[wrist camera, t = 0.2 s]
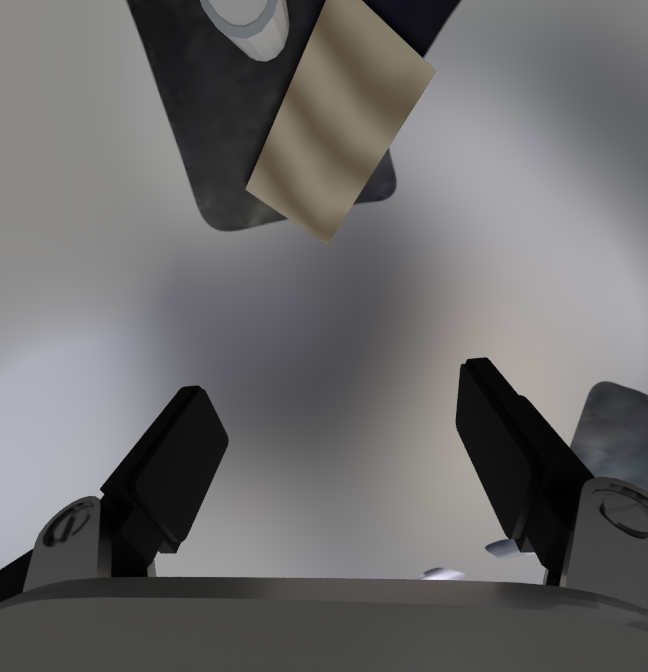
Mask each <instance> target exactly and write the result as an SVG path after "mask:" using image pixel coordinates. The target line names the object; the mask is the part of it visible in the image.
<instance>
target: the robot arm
mask: <svg viewBox="0 0 648 672" xmlns="http://www.w3.org/2000/svg"><path fill="white" fill-rule="evenodd" d="M456 428H457V431H458V432H459V435H460V438H461V439H462V442H463V444H464V446H465V448H466V450H467V453H468V455H469V457H470V459H471V461H472V464H473V466H474V467H475V470H476V472H477V474H478V477H479V479H480V481H481V483H482V485H483V487H484V490H485V492H486V494H487V496H488V498H489V500H490V503H491V505H492V507H493V509H494V511H495V513H496V515H497V518H498V520H499V522H500V524H501V527H502V529H503V531H504V533H505V535H506V536H507V537H508V538H509V539H514V540H515V542H516V544H517V547H518V549H519V551H520V552H535V553H536V555H537V557H538V559H539V561H540V562H541V565H542V566H544V567H545V568H546V571H545V575H544V580H543V584H542V585H537V584H525V583H510V582H484V581H456V580H405V579H343V578H340V579H339V578H251V577H249V578H248V577H156V571H155V562H154V558H155V556H156V554H157V552H158V551H159V552H160V553H177V550H178V548H179V546H180V544H181V542H183V541H184V540H185V539H186V537H187V535H188V533H189V531H190V529H191V527H192V524H193V522H194V520H195V518H196V515H197V513H198V511H199V509H200V506H201V504H202V502H203V500H204V497H205V495H206V493H207V491H208V488H209V486H210V484H211V482H212V480H213V477H214V475H215V473H216V471H217V468H218V466H219V464H220V462H221V459H222V457H223V455H224V453H225V451H226V448H227V446H228V436H227V433H226V431H225V429H224V427H223V425H222V423H221V421H220V419H219V417H218V415H217V413H216V411H215V409H214V407H213V405H212V403H211V401H210V399H209V397H208V395H207V393H206V391H205V390H204V389H202V388H201V387H200V386H186V387H182V388H181V389H180V390H179V391H178V392H177V394H176V395H175V396H174V397H173V399H172V400H171V401H170V402H169V403H168V405H167V406H166V407H165V408H164V410H163V411H162V413H161V414H160V415H159V416H158V418H156V420H155V421H154V422H153V423H152V425H151V426H150V427H149V428H148V430H147V431H146V432H145V433H144V435H143V436H142V437H141V439H140V440H139V441H138V442H137V443H136V445H135V446H134V447H133V448H132V450H131V451H130V452H129V453H128V454H127V456H126V457H125V458H124V459H123V461H122V462H121V463H120V465H119V466H118V467H117V468H116V469H115V471H114V472H113V473H112V474H111V476H110V477H109V478H108V479H107V481H106V482H105V483H104V484H103V486H102V487H101V488H100V490H101V491H102V492H103V493H104V494H105V495H104V496H103V497H102V498H101V500H100V499H98V498H97V497H96V496H88V497H84V498H81V499H79V500H76V501H74V502H72V503H71V504H69V505H68V506H66V507H65V508H63V509H62V510H61V511H59V512H58V513H57V514H56V515H55V516H54V517H53V518H52V519H51V520H50V521H49V522H48V523H47V524H46V525H45V526H44V528H43V529H42V531H41V532H40V533H39V535H38V538H37V540H36V542H35V546H34V548H33V549H32V550H30V551H29V552H27V553H26V554H24V555H23V556H21V557H19V558H18V559H16V560H15V561H13V562H12V563H10V564H9V565H7V566H5V567H4V568H2V569H1V570H0V672H648V492H647V491H646V490H644V489H642V488H640V487H638V486H636V485H633V484H631V483H629V482H625V481H622V480H619V479H616V478H608V477H597V478H595V477H594V476H593V475H592V473H591V472H590V471H589V470H588V469H587V468H586V466H585V465H584V464H583V463H582V462H581V461H580V459H579V458H578V457H577V456H576V455H575V454H574V452H573V451H572V450H571V449H570V448H569V447H568V445H567V444H566V443H565V442H564V441H563V440H562V438H561V437H560V436H559V435H558V434H557V433H556V431H555V430H554V429H553V428H552V427H551V426H550V425H549V423H548V422H547V421H546V420H545V419H544V418H543V416H542V415H541V414H540V413H539V412H538V410H537V409H536V408H535V407H534V406H533V405H532V403H530V401H529V400H528V399H527V398H526V397H524V396H522V395H518V394H517V392H516V391H515V390H514V389H513V388H512V386H511V385H510V384H509V383H508V382H507V381H506V379H505V378H504V377H503V376H502V374H501V373H500V372H499V371H498V370H497V368H496V367H495V366H494V365H493V364H492V362H491V361H490V360H489V359H488V358H486V357H485V358H474V359H467V361H466V364H461V367H460V378H459V388H458V399H457V411H456Z"/></svg>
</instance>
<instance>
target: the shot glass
mask: <svg viewBox="0 0 648 672" xmlns="http://www.w3.org/2000/svg"><path fill="white" fill-rule="evenodd" d="M200 2H201V4H202V7H203V9H204V10H205V12H206V13H207V15H208V16H209V18H210V19H211V20H212V22H213V23H214V25H215V26H216V27H217V28H218V29H219V30H220V31H221V32H223V33H224V34H225V35H226V36H227V37H228V38H229V39H230V40H231V41H233V42H234V43H235V44H236V45H237V46H238V47H239V48H240V49H242V50H243V51H244V52H245V53H246V54H247V55H249V56H250V57H252V58H253V59H255V60H258V61H269V60H271V59H273V58H275V57H277V55H278V54H279V53H280V52H281V50H282V49H283V48H284V45H285V42H286V39H287V36H288V24H289V17H288V11H287V5H286V0H200Z"/></svg>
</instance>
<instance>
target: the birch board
mask: <svg viewBox="0 0 648 672" xmlns="http://www.w3.org/2000/svg"><path fill="white" fill-rule="evenodd" d="M435 72H436V71H435V70H434V69H433V68H432V67H431V66H430V65H429V64H428V63H427V62H426V61H425V60H424V59H423V58H422V57H421V56H420V55H419V54H418V53H417V52H416V51H414V50H413V49H412V48H411V47H410V46H409V45H408V44H407V43H406V42H405V41H404V40H403V39H402V38H401V37H400V36H399V35H398V34H397V33H396V32H395V31H393V30H392V29H391V28H390V27H389V26H388V25H387V24H386V23H385V22H384V21H383V20H382V19H381V18H380V17H379V16H378V15H377V14H376V13H375V12H373V11H372V10H371V9H370V8H369V7H368V6H367V5H366V4H365V3H364V2H363V1H362V0H326V2H325V4H324V6H323V9H322V11H321V13H320V16H319V18H318V20H317V23H316V25H315V27H314V30H313V32H312V34H311V37H310V39H309V42H308V44H307V46H306V49H305V51H304V53H303V56H302V58H301V60H300V63H299V65H298V67H297V70H296V72H295V74H294V77H293V79H292V81H291V84H290V86H289V89H288V91H287V93H286V96H285V98H284V100H283V103H282V105H281V107H280V110H279V112H278V114H277V117H276V119H275V121H274V124H273V126H272V128H271V131H270V133H269V135H268V138H267V140H266V143H265V145H264V147H263V150H262V152H261V154H260V157H259V159H258V161H257V164H256V166H255V168H254V171H253V173H252V175H251V178H250V180H249V182H248V185H247V187H246V190H247V191H248V192H250V193H251V194H253V195H254V196H256V197H257V198H259V199H260V200H262V201H263V202H265V203H266V204H267V205H269V206H270V207H272V208H273V209H275V210H276V211H278V212H279V213H281V214H282V215H284V216H285V217H287V218H288V219H289V220H291V221H292V222H294V223H295V224H297V225H298V226H300V227H301V228H303V229H304V230H306V231H307V232H309V233H310V234H312V235H313V236H314V237H316V238H317V239H319V240H320V241H322V242H323V243H325V244H326V245H328V243H329V241H330V240H331V238H332V237H333V235H334V233H335V232H336V230H337V229H338V227H339V225H340V224H341V222H342V220H343V219H344V217H345V216H346V214H347V213H348V211H349V210H350V208H351V206H352V205H353V203H354V202H355V200H356V198H357V197H358V195H359V194H360V192H361V190H362V189H363V187H364V186H365V184H366V182H367V181H368V179H369V178H370V176H371V175H372V173H373V171H374V170H375V168H376V167H377V165H378V163H379V162H380V160H381V159H382V157H383V155H384V154H385V152H386V151H387V149H388V147H389V146H390V144H391V142H392V141H393V139H394V138H395V136H396V134H397V133H398V131H399V130H400V128H401V127H402V125H403V124H404V122H405V120H406V119H407V117H408V115H409V114H410V112H411V110H412V109H413V108H414V106H415V104H416V103H417V101H418V100H419V98H420V96H421V95H422V93H423V92H424V90H425V88H426V87H427V85H428V84H429V82H430V81H431V79H432V77H433V76H434V74H435Z"/></svg>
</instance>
